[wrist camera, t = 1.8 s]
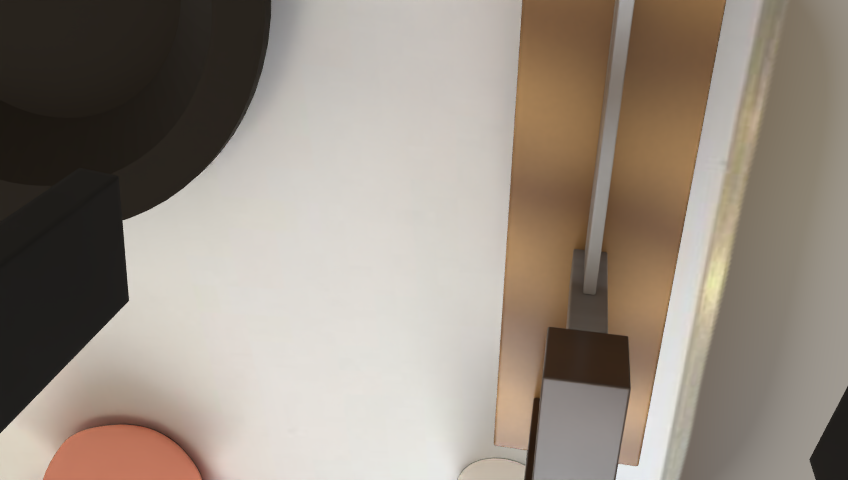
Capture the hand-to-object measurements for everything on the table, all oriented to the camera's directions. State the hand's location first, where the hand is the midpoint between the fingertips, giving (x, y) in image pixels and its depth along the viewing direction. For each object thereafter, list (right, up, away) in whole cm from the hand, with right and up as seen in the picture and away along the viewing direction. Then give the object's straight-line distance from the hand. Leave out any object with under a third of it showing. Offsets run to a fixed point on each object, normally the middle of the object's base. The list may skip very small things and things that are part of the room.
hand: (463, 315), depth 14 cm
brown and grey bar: (+5, +3, +13) cm, 14 cm away
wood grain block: (+8, +9, +25) cm, 28 cm away
